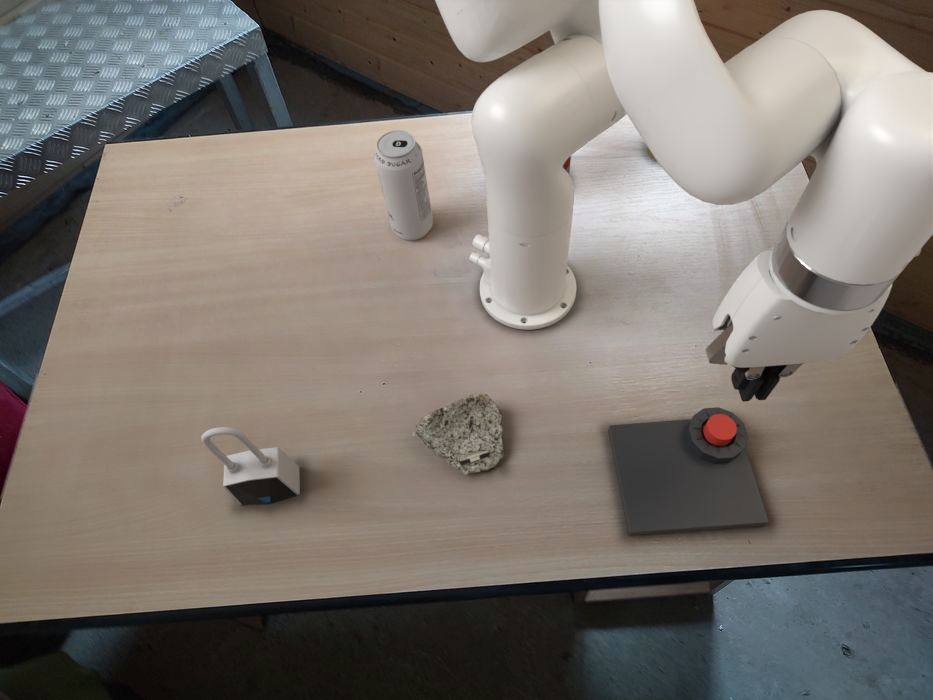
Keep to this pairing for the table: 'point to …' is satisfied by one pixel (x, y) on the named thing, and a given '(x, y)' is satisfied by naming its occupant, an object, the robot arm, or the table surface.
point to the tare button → (719, 430)
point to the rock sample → (465, 433)
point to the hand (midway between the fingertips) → (748, 386)
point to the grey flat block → (684, 477)
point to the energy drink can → (404, 184)
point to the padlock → (255, 471)
